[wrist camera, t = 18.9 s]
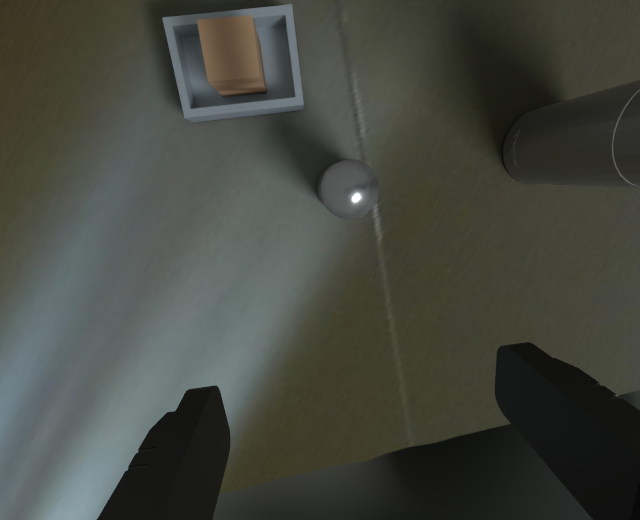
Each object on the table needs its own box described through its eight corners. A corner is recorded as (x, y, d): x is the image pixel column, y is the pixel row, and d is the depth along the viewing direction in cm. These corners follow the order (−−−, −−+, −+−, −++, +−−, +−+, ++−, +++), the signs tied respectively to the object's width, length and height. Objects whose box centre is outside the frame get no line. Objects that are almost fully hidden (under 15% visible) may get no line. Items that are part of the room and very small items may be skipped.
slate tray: (292, 19, 33) (291, 4, 30) (303, 110, 36) (303, 104, 33) (174, 31, 33) (162, 17, 30) (193, 122, 35) (184, 117, 32)
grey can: (361, 159, 38) (377, 156, 30) (364, 207, 39) (380, 215, 32) (314, 165, 37) (317, 163, 30) (319, 213, 39) (324, 222, 31)
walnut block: (260, 42, 33) (251, 14, 27) (267, 93, 34) (260, 76, 29) (214, 46, 33) (196, 19, 27) (223, 97, 34) (207, 81, 28)
